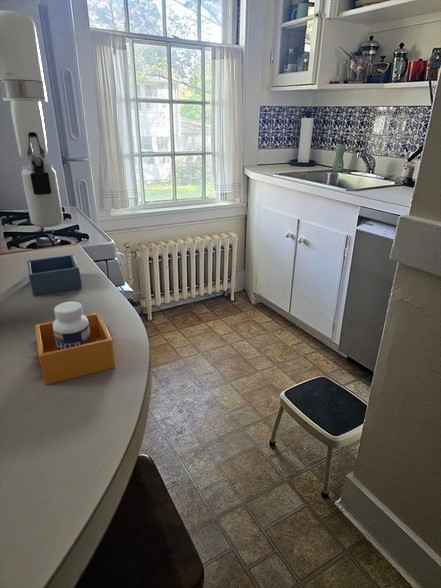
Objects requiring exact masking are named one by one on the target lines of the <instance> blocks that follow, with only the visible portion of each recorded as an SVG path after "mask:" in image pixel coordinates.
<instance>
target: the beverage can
mask: <svg viewBox="0 0 441 588" xmlns="http://www.w3.org/2000/svg"><path fill="white" fill-rule="evenodd" d="M45 164H46V163H45ZM53 166H54V165H53V164H49V163H48V164H46V169H47V173H48V174H49V180H50V186H51V194H43V195H35V194H34V191H33V186H32V181H31V176H30V173H31V168H30V165H29V164H25V165H22V166H21V169H22V170H21V173H20V174H21V179H22V184H23V189H24V194H25V201H26V204H27V205H26V206H27V209H28V214H29V219H30V223H31V224H32V225H34V226H35V227H36V228H37V227H38V228H52V227H58V226H60V225H61V224H62V222H63V221H64V214H63V208H62V202H61V195H60V190H59V184H58V178H57V172H56V170H55V169H54V168H53ZM33 168H34V166H33ZM34 173H35V172H34Z"/></svg>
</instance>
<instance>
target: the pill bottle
mask: <svg viewBox="0 0 441 588" xmlns="http://www.w3.org/2000/svg"><path fill="white" fill-rule="evenodd" d="M53 311H54V312H53V313H54V317H55V319H54V320H53V321H54V322H53V332H54V337H55V343H56V348H57V350H61V349H65V348H70V347H74V346H79V345H83V344H88V343H91V336H90V329H89V322H88V319H87V318H86V317H85V316H84V315H85V314H83V313H84V311H83V305H82V303H80V302H78V301H65V302H61V303H58V304H57V305H56V306H55V307H54V308H53Z"/></svg>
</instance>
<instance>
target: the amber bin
mask: <svg viewBox="0 0 441 588" xmlns="http://www.w3.org/2000/svg"><path fill="white" fill-rule="evenodd" d="M83 315H84V316H85V317H86V318H87V319H88V322H89V329H90V336H91V343H88V344H83V345H79V346H74V347H70V348H65V349H61V350H57V348H56V343H55V337H54V332H53V322H54V321H55V320H53V321H47V322H42V323H38V324H34V328H35V336H36V338H35V339H36V345H37V352H38V360H39V363H40V369H41V371H42V372H41V373H42V376H43V381H44V385H45V386H46V385H52V384H54V383H60V382H62V381H63V382H64V381H66V380H70V379H74V378H78V377H82V376H86V375H90V374H94V373H98V372H103V371H105V370H110V369H113V368H116V363H115V361H116V360H115V353H114V347H113V340H112V337H111V336H110V333H109V331H108V329H107V326H106V325H105V322H104V320H103V317H102V316H101V314H100V312H94V313H89V314H83Z"/></svg>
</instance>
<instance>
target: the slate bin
mask: <svg viewBox="0 0 441 588" xmlns="http://www.w3.org/2000/svg"><path fill="white" fill-rule="evenodd" d="M26 265H27V272H28V278H29V283H30V288H31V292H32V296H33V297H38V296H45V295H51V294H56V293H63V292H67V291H75V290H81V289H83V285H82V279H81V273H80V268H79V264H78V262H77V261H76V258H75V256H74V255H73V254H67V255H66V254H65V255H59V256H52V257H45V258H37V259H31V260H26Z"/></svg>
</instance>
